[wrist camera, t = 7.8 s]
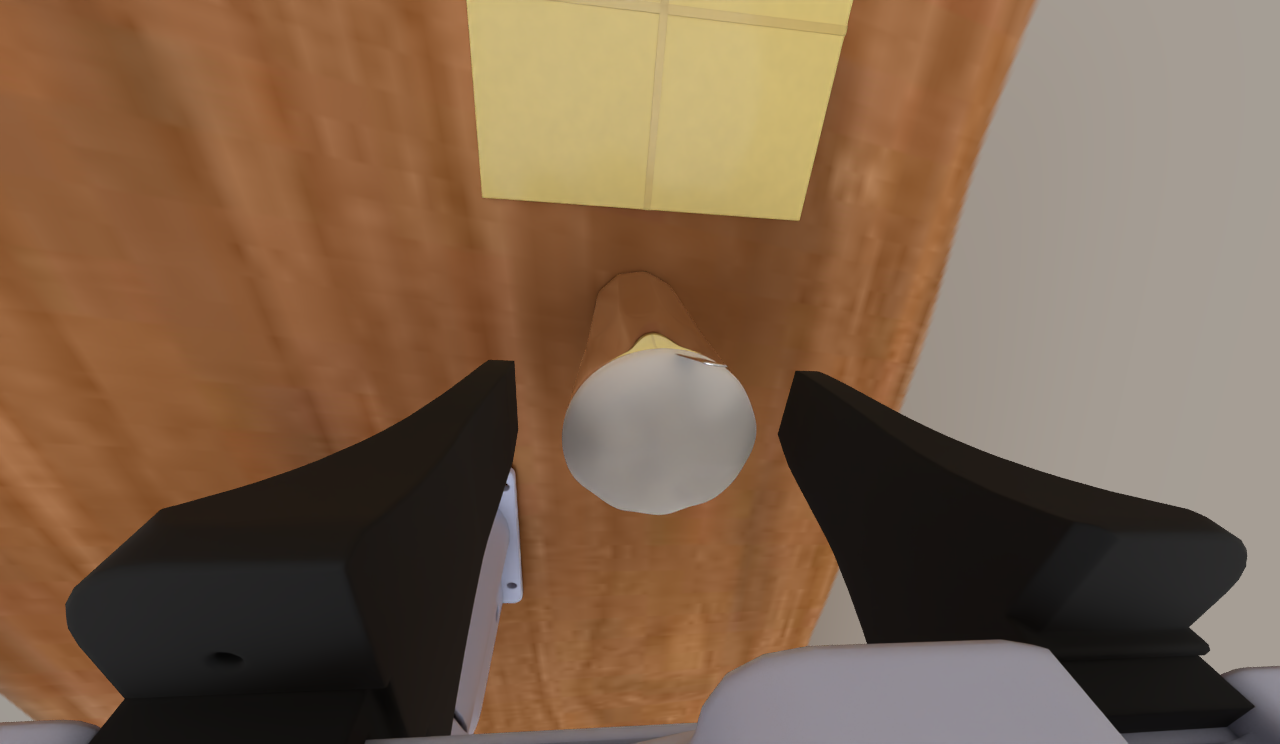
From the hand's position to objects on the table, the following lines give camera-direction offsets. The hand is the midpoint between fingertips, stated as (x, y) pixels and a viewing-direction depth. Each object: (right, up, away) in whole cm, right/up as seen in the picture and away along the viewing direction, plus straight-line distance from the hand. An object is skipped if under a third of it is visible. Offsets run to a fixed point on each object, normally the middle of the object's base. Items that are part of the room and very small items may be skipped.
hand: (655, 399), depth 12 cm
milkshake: (0, +4, +6) cm, 7 cm away
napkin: (0, +11, +2) cm, 11 cm away
